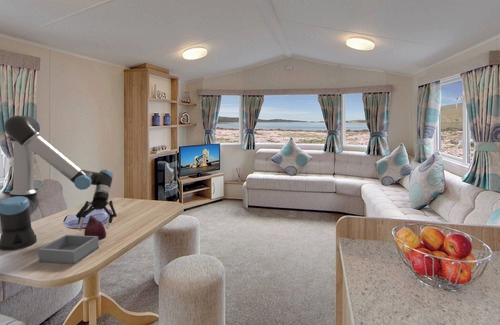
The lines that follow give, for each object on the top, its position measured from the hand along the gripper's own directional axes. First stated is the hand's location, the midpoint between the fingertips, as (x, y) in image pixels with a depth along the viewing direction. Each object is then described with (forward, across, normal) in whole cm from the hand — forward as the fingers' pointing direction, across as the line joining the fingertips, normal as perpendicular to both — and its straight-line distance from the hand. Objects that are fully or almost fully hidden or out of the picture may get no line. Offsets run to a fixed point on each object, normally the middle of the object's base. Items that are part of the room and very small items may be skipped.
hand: (93, 229), depth 153 cm
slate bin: (+16, +4, +8) cm, 19 cm away
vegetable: (+3, 0, -6) cm, 6 cm away
